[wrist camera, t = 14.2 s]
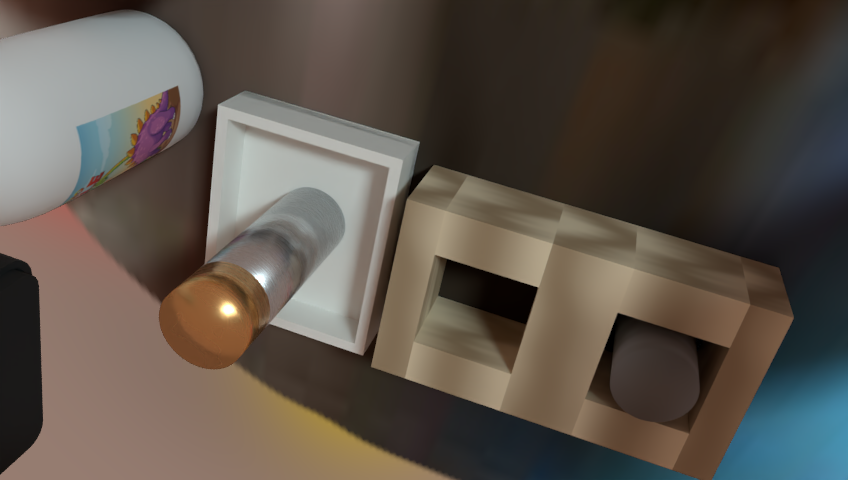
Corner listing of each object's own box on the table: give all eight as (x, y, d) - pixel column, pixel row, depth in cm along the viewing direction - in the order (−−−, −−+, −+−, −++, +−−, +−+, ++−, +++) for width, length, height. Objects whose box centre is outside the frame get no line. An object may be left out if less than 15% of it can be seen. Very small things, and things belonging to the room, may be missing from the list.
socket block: (779, 267, 39) (797, 329, 34) (705, 421, 43) (711, 496, 38) (433, 164, 41) (400, 206, 36) (398, 319, 46) (364, 377, 41)
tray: (419, 142, 41) (403, 160, 38) (379, 328, 47) (362, 355, 44) (245, 90, 43) (218, 104, 40) (226, 277, 48) (201, 300, 45)
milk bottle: (60, 41, 44) (-330, 149, 27) (161, -17, 41) (-206, 63, 24) (132, 163, 47) (-187, 337, 29) (233, 116, 43) (-56, 279, 26)
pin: (350, 199, 43) (248, 305, 32) (339, 262, 45) (239, 381, 34) (283, 178, 43) (161, 275, 33) (274, 240, 45) (156, 351, 35)
